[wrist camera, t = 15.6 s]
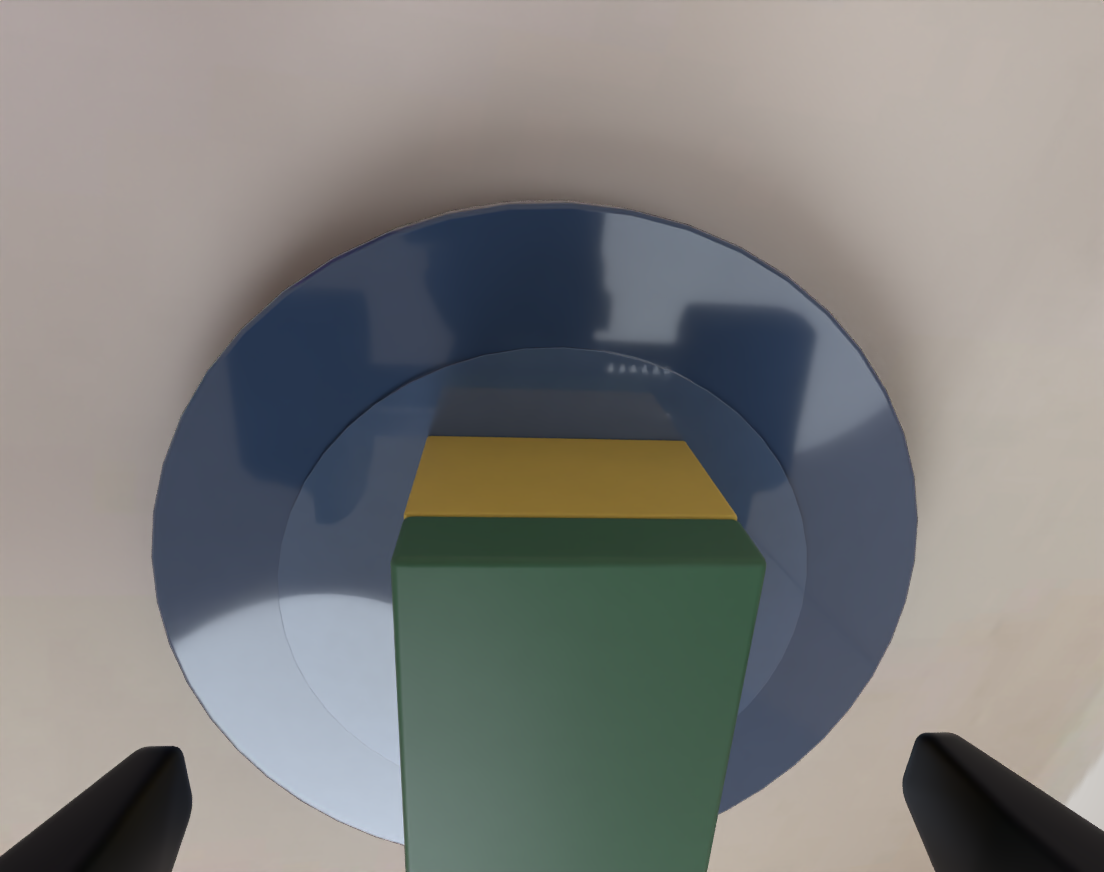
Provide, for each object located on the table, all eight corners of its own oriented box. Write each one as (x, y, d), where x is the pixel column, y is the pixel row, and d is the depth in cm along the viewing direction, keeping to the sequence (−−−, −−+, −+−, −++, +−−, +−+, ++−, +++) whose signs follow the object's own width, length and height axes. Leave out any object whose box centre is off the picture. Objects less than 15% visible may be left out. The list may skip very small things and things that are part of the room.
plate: (810, 804, 15) (835, 856, 14) (234, 819, 14) (209, 877, 13) (964, 219, 10) (1023, 225, 9) (117, 177, 9) (62, 177, 8)
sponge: (646, 732, 12) (697, 930, 9) (433, 736, 12) (408, 943, 9) (685, 439, 10) (771, 561, 7) (427, 434, 10) (388, 559, 7)
